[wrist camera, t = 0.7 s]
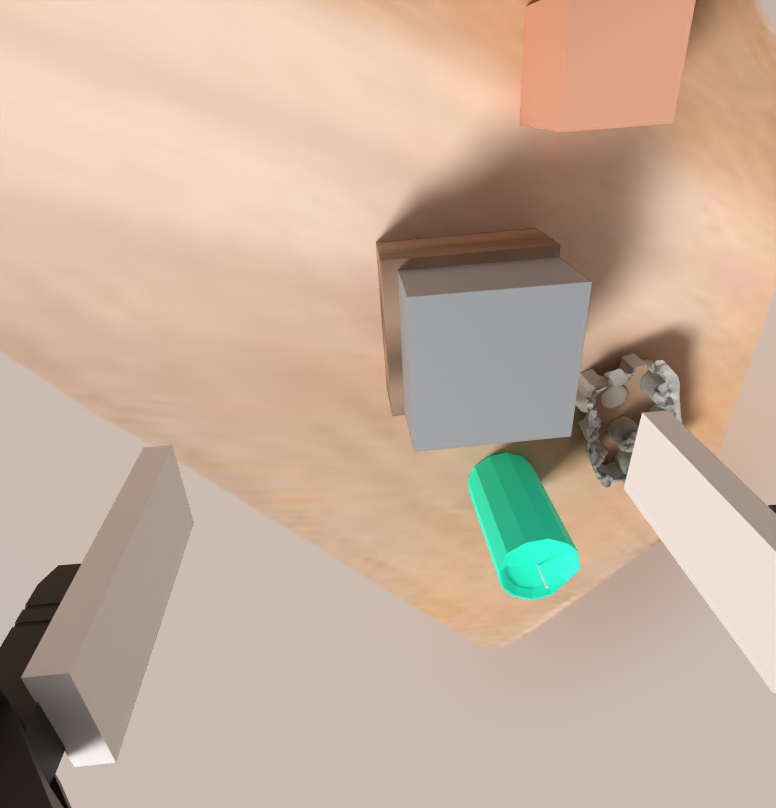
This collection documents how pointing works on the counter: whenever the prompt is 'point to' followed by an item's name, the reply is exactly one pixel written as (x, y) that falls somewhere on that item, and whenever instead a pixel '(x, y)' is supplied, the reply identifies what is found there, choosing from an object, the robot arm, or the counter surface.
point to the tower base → (439, 255)
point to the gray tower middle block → (491, 351)
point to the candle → (521, 527)
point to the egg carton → (623, 429)
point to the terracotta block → (603, 63)
